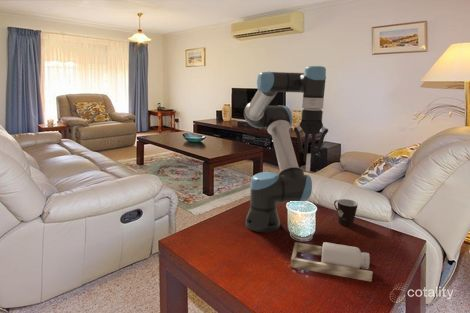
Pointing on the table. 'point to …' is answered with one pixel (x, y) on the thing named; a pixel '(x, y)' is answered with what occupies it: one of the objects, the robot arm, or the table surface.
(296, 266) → the cradle
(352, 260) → the pill bottle
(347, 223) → the coffee mug
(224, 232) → the table surface
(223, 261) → the table surface
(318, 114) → the robot arm
